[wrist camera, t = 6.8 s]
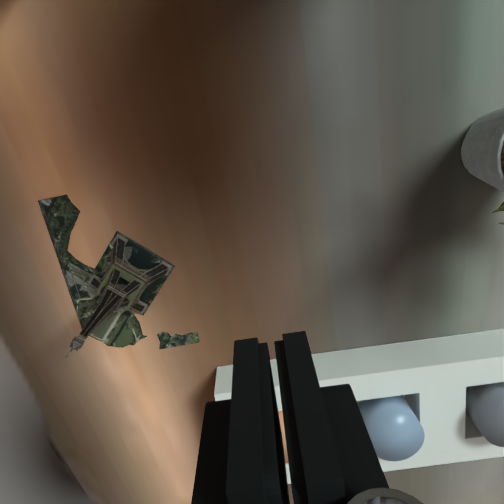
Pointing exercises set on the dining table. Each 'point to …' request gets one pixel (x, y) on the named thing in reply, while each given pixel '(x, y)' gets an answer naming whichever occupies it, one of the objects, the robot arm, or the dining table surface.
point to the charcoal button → (487, 410)
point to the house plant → (486, 150)
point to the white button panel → (414, 388)
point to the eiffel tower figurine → (109, 283)
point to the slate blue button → (392, 427)
